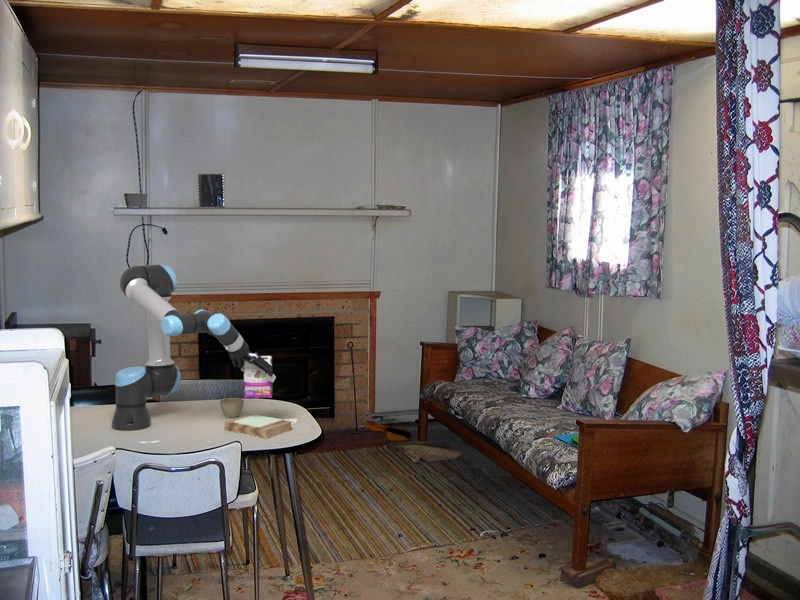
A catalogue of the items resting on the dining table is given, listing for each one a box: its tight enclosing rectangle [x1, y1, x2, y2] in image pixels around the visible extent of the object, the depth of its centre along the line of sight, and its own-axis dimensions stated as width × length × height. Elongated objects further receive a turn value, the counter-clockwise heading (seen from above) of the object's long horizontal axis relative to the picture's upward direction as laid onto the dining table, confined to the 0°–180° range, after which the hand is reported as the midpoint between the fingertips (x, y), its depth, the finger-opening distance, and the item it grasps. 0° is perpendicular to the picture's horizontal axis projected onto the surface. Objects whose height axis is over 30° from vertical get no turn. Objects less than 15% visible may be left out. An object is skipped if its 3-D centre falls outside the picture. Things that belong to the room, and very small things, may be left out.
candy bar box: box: [243, 355, 273, 399], centre depth 338 cm, size 11×5×16 cm, turn 97°
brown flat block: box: [224, 413, 292, 439], centre depth 341 cm, size 22×15×4 cm
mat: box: [234, 414, 283, 428], centre depth 340 cm, size 14×13×1 cm
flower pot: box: [219, 397, 245, 419], centre depth 360 cm, size 10×10×7 cm
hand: (262, 378), depth 341 cm, fingers closed on candy bar box, 11 cm apart
